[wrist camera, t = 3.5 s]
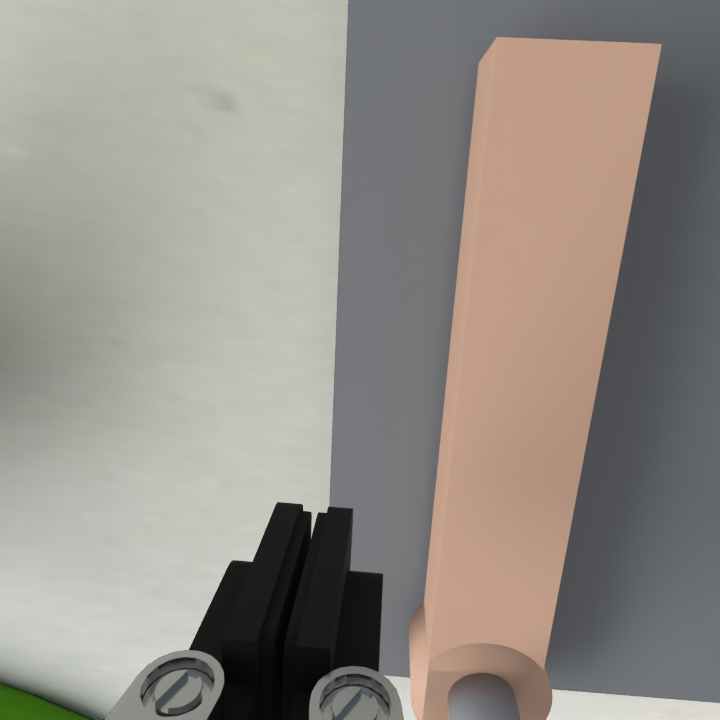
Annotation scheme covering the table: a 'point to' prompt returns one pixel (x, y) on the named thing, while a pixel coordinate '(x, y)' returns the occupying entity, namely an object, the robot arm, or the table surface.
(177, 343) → the table surface
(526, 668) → the link
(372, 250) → the base board
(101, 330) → the table surface
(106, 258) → the table surface
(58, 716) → the spray bottle
